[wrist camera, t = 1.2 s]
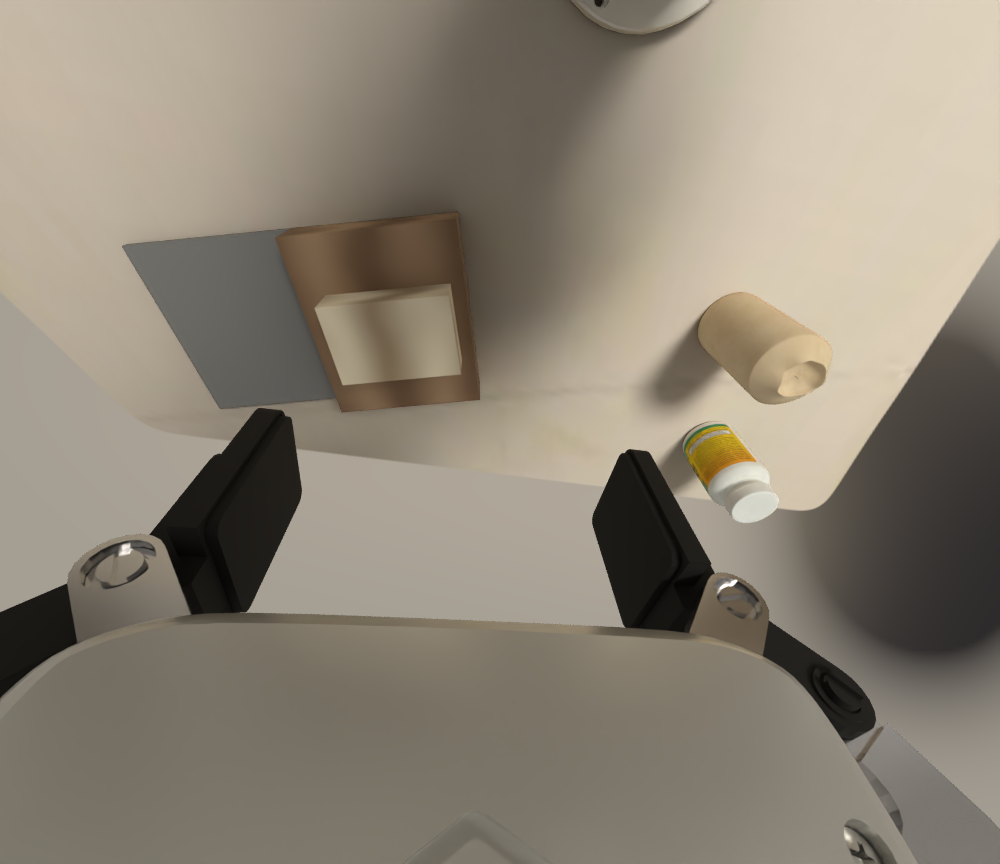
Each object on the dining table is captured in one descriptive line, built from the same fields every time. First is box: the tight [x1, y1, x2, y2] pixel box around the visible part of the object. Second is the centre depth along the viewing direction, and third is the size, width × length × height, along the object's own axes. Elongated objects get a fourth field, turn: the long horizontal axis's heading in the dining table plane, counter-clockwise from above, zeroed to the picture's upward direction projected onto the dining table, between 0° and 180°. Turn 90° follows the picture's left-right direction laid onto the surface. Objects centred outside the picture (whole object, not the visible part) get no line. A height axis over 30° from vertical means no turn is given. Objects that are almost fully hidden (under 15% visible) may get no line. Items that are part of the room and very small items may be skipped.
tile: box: [315, 284, 462, 385], centre depth 30 cm, size 9×6×2 cm, turn 95°
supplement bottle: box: [683, 421, 779, 523], centre depth 39 cm, size 5×5×10 cm
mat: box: [122, 228, 336, 409], centre depth 33 cm, size 12×14×1 cm
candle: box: [698, 292, 832, 404], centre depth 31 cm, size 6×6×10 cm
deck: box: [275, 212, 480, 412], centre depth 32 cm, size 12×14×3 cm
